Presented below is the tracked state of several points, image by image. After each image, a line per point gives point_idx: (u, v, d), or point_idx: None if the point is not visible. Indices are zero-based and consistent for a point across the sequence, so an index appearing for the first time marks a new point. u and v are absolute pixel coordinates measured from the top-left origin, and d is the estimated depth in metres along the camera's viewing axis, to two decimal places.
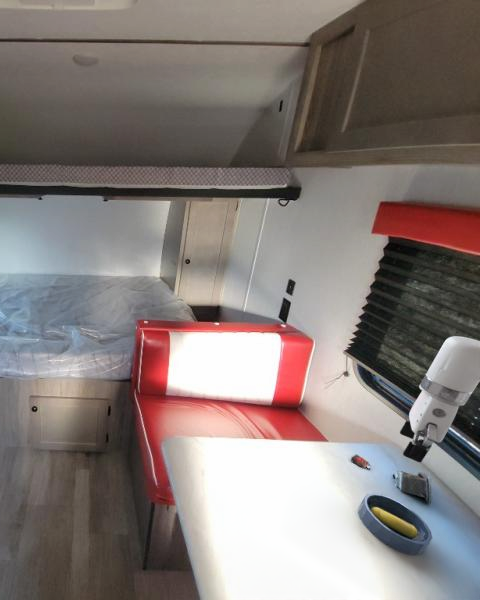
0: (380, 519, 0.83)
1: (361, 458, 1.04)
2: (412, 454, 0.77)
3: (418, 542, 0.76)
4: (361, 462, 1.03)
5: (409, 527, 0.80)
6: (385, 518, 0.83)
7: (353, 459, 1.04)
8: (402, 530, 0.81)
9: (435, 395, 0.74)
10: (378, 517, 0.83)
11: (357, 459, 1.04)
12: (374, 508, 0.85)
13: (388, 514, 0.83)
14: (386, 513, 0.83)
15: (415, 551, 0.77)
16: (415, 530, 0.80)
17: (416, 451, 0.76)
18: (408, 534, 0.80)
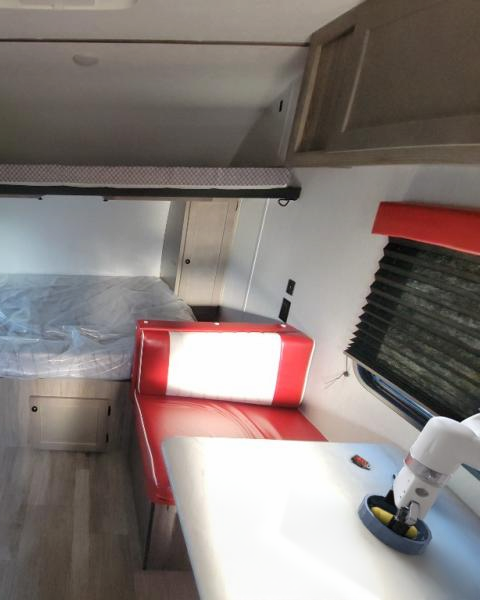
0: (380, 519, 0.83)
1: (361, 458, 1.04)
2: (395, 529, 0.78)
3: (418, 542, 0.76)
4: (361, 462, 1.03)
5: None
6: (385, 518, 0.83)
7: (353, 459, 1.04)
8: None
9: (418, 474, 0.75)
10: (378, 517, 0.83)
11: (357, 459, 1.04)
12: (374, 508, 0.85)
13: (388, 514, 0.83)
14: (386, 513, 0.83)
15: (415, 551, 0.77)
16: (415, 530, 0.80)
17: (399, 526, 0.77)
18: (408, 534, 0.80)
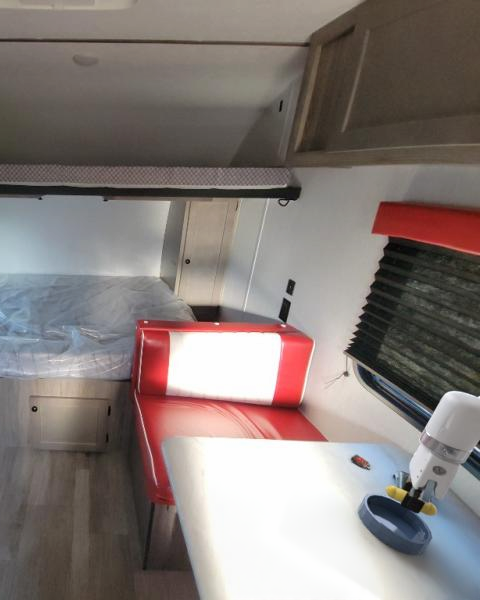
0: (397, 497, 0.80)
1: (361, 458, 1.04)
2: (409, 505, 0.78)
3: (418, 542, 0.76)
4: (361, 462, 1.03)
5: (427, 504, 0.77)
6: (402, 496, 0.80)
7: (353, 459, 1.04)
8: None
9: (435, 452, 0.72)
10: (394, 495, 0.80)
11: (357, 459, 1.04)
12: (390, 486, 0.82)
13: (405, 492, 0.80)
14: (403, 491, 0.80)
15: (415, 551, 0.77)
16: (434, 507, 0.77)
17: (413, 502, 0.77)
18: (427, 512, 0.77)
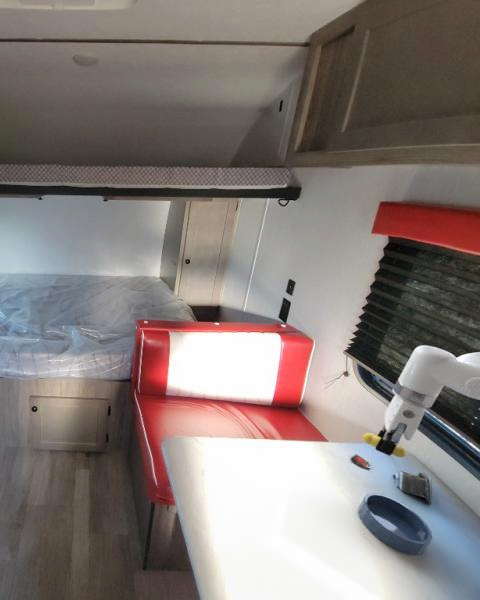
0: (372, 442, 0.91)
1: (361, 458, 1.04)
2: (383, 448, 0.88)
3: (418, 542, 0.76)
4: (361, 462, 1.03)
5: (398, 447, 0.88)
6: (377, 441, 0.90)
7: (353, 459, 1.04)
8: None
9: (405, 398, 0.83)
10: (370, 441, 0.91)
11: (357, 459, 1.04)
12: (367, 433, 0.92)
13: (379, 438, 0.90)
14: (378, 437, 0.91)
15: (415, 551, 0.77)
16: (404, 450, 0.87)
17: (386, 445, 0.88)
18: (397, 453, 0.88)
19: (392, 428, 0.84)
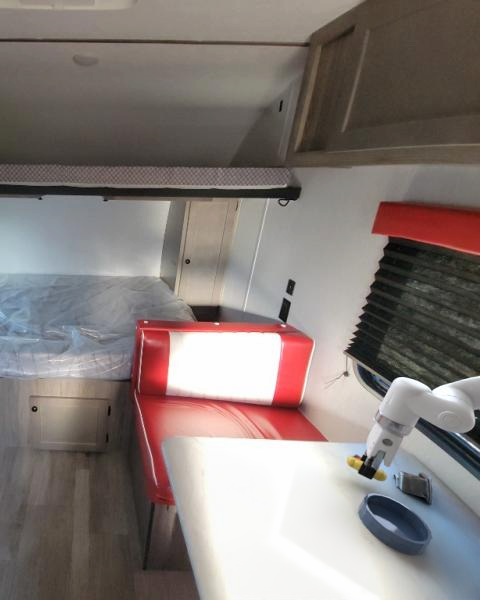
0: (355, 466, 0.95)
1: None
2: (364, 473, 0.93)
3: (418, 542, 0.76)
4: None
5: (379, 472, 0.93)
6: (359, 465, 0.95)
7: None
8: None
9: (384, 427, 0.87)
10: (353, 465, 0.96)
11: None
12: (350, 457, 0.97)
13: (362, 462, 0.95)
14: (360, 461, 0.95)
15: (415, 551, 0.77)
16: (384, 474, 0.92)
17: (367, 470, 0.92)
18: (378, 478, 0.92)
19: (372, 455, 0.89)
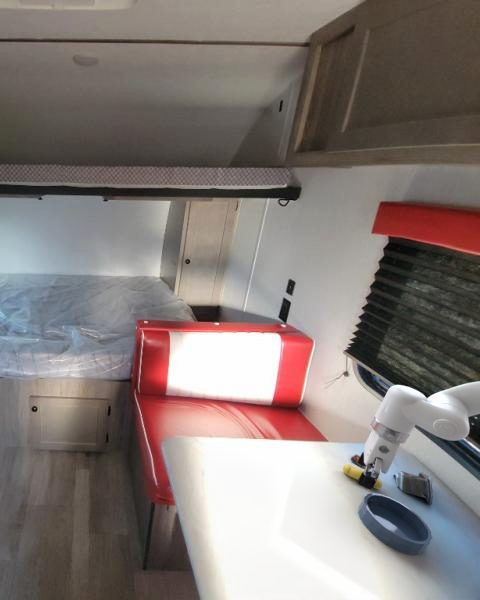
0: (351, 474, 0.97)
1: None
2: (364, 483, 0.91)
3: (418, 542, 0.76)
4: None
5: None
6: (355, 472, 0.96)
7: (353, 459, 1.04)
8: None
9: (381, 434, 0.88)
10: (349, 472, 0.97)
11: (357, 459, 1.04)
12: (346, 465, 0.98)
13: (357, 469, 0.97)
14: (356, 469, 0.97)
15: (415, 551, 0.77)
16: (380, 481, 0.93)
17: (367, 480, 0.91)
18: (374, 485, 0.94)
19: (369, 462, 0.90)
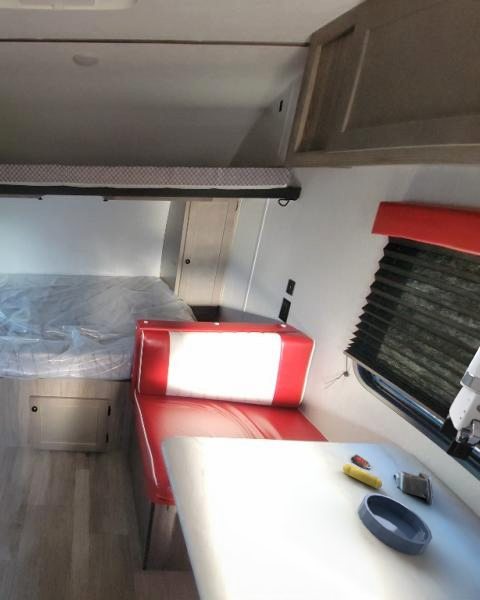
0: (351, 472, 0.97)
1: (361, 458, 1.04)
2: (456, 452, 0.75)
3: (418, 542, 0.76)
4: (361, 462, 1.03)
5: (375, 478, 0.94)
6: (355, 471, 0.96)
7: (353, 459, 1.04)
8: (369, 480, 0.94)
9: (479, 391, 0.73)
10: (349, 471, 0.97)
11: (357, 459, 1.04)
12: (346, 464, 0.99)
13: (357, 468, 0.97)
14: (356, 468, 0.97)
15: (415, 551, 0.77)
16: (380, 480, 0.94)
17: (461, 449, 0.75)
18: (374, 484, 0.94)
19: (464, 426, 0.74)
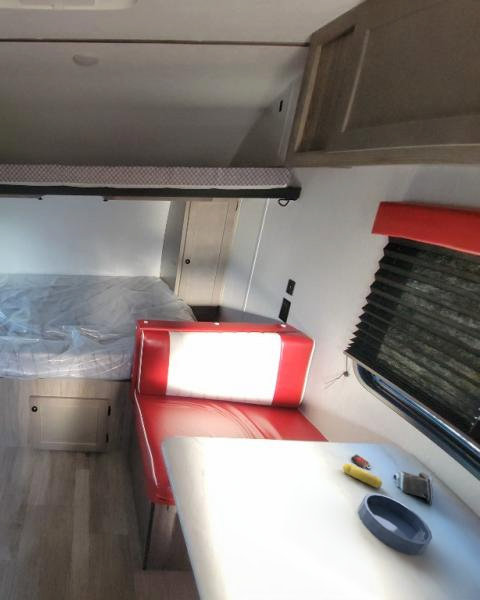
0: (351, 471, 0.97)
1: (361, 458, 1.04)
2: None
3: (418, 542, 0.76)
4: (361, 462, 1.03)
5: (375, 476, 0.95)
6: (355, 470, 0.97)
7: (353, 459, 1.04)
8: (370, 479, 0.94)
9: None
10: (350, 469, 0.97)
11: (357, 459, 1.04)
12: (346, 464, 0.99)
13: None
14: (356, 467, 0.98)
15: (415, 551, 0.77)
16: (379, 479, 0.94)
17: None
18: (375, 482, 0.94)
19: None
